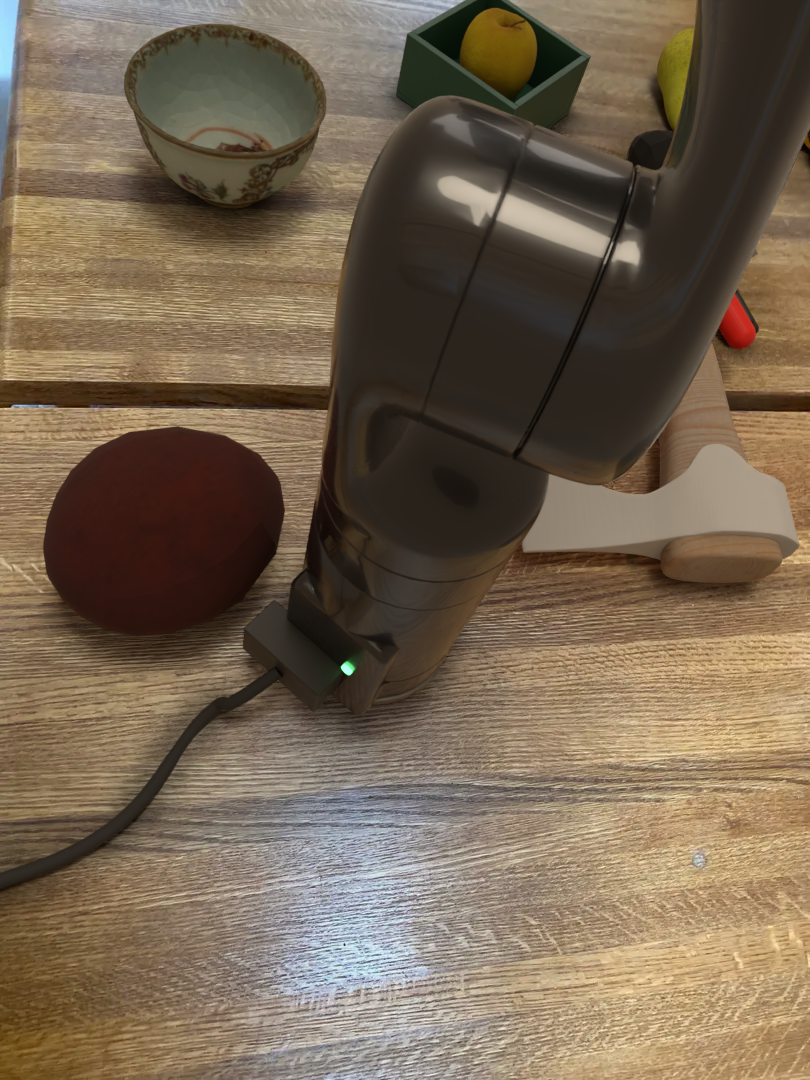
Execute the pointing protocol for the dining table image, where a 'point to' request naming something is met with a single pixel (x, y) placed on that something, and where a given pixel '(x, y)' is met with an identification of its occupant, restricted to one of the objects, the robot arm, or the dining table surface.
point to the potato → (162, 530)
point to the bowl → (225, 110)
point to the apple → (500, 51)
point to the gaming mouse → (650, 149)
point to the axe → (682, 502)
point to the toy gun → (739, 323)
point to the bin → (439, 73)
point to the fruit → (675, 72)
